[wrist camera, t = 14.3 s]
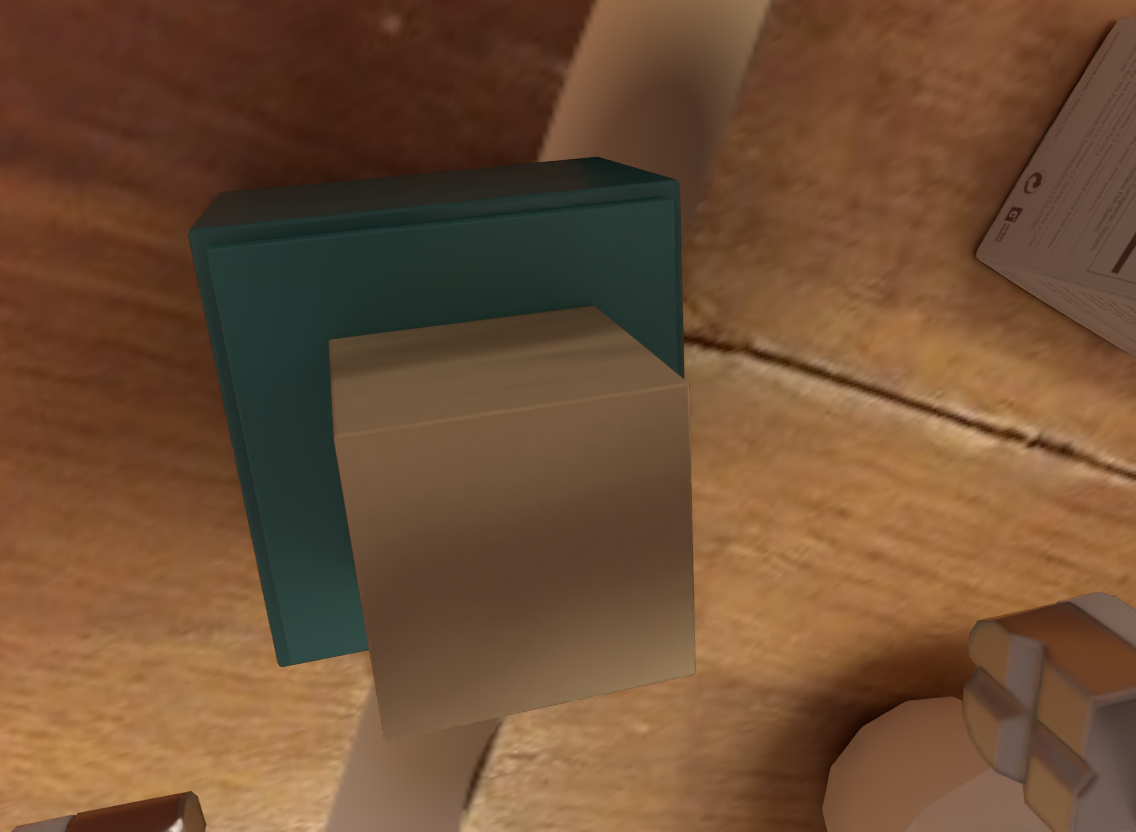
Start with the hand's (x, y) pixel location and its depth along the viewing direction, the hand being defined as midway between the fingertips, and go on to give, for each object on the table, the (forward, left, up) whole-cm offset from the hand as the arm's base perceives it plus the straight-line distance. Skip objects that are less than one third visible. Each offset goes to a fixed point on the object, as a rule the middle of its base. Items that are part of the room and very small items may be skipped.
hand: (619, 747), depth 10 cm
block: (0, 0, -9) cm, 9 cm away
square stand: (0, 0, -15) cm, 15 cm away
